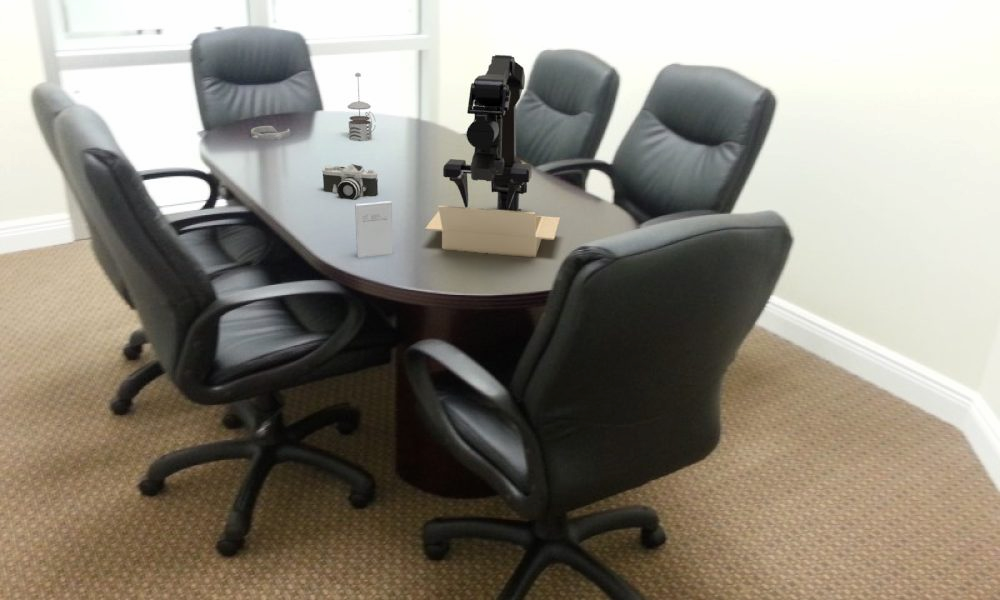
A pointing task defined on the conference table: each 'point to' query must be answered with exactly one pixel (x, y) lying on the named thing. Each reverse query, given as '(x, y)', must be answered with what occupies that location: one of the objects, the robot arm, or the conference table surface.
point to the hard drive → (374, 228)
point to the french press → (360, 120)
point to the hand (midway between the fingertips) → (486, 208)
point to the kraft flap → (488, 221)
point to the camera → (350, 181)
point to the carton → (497, 239)
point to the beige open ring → (269, 136)
